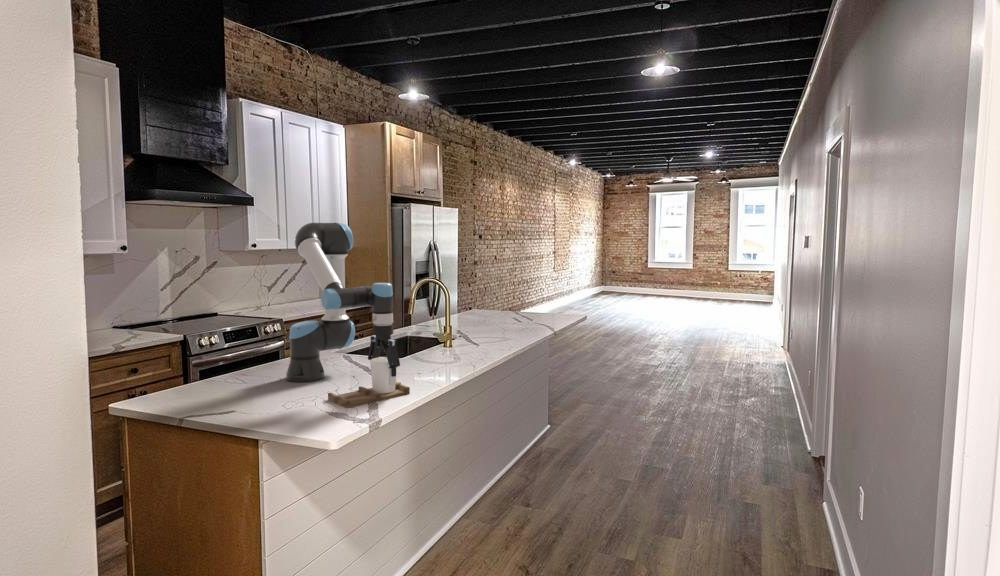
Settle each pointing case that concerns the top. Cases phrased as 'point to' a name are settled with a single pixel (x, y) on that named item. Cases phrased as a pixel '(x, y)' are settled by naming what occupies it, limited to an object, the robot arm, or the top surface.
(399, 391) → the brown wooden flat tray
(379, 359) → the candle holder
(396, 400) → the top surface
